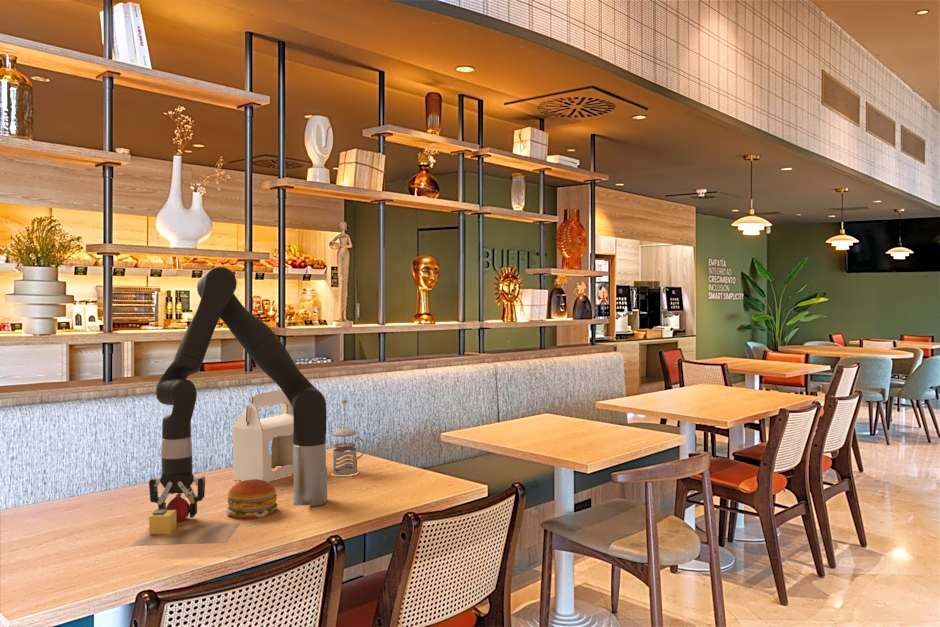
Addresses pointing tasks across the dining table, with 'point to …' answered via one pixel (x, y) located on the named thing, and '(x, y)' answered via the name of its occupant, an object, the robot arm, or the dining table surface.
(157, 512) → the yellow cube
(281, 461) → the gable box
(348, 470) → the french press
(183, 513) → the onion
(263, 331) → the robot arm
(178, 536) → the board
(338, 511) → the dining table surface
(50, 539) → the dining table surface
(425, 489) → the dining table surface
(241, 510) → the burger
